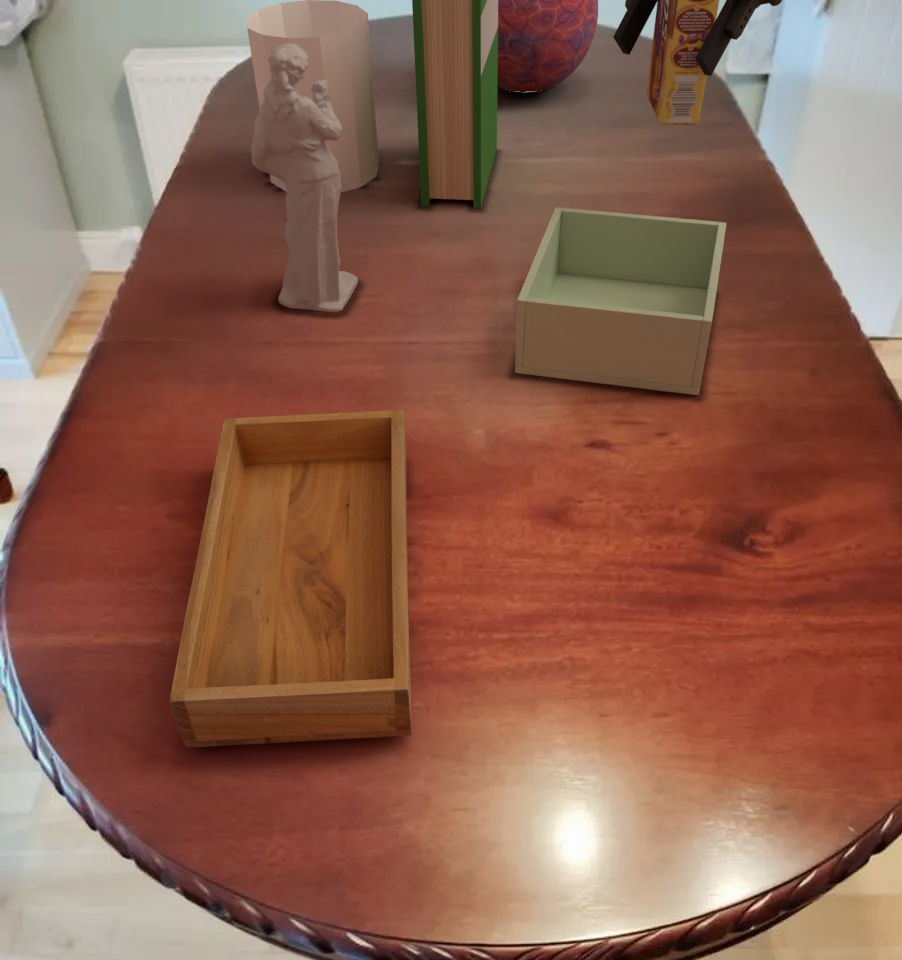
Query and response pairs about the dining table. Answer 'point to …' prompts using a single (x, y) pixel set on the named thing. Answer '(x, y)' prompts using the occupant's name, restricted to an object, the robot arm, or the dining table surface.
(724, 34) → the robot arm
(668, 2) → the candy box
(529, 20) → the decorative sphere
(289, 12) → the container
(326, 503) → the tray
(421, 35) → the hardback book
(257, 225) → the dining table surface
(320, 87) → the figurine
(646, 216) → the bin
